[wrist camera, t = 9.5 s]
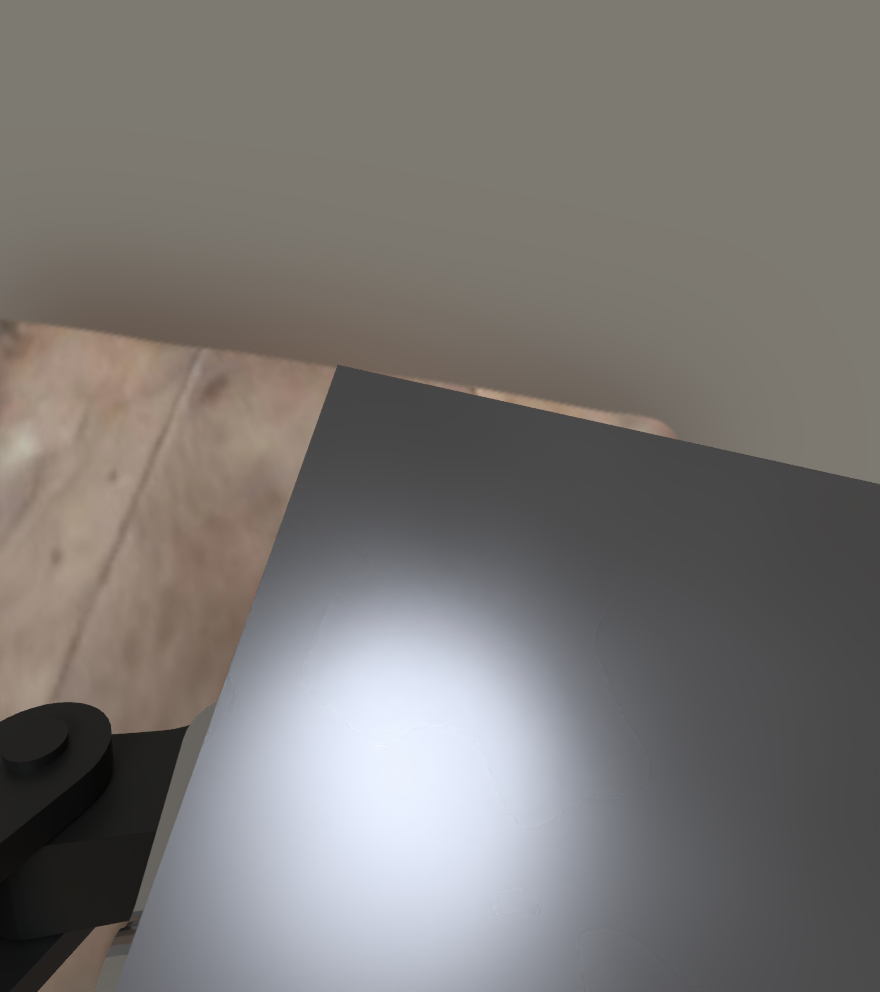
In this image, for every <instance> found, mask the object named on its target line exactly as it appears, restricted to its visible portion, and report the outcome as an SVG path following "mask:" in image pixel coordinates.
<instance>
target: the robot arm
mask: <svg viewBox="0 0 880 992" xmlns="http://www.w3.org/2000/svg"><path fill="white" fill-rule="evenodd" d="M217 703H218V702H217ZM217 703H214V704H213V705H211V706H209V707H208V708H206V709H205V710H204V711H203V712H201V713H200V714H199V715H198V716H197V717H196V718H195V719H194V720H193V722H192V723H191V724H190V725H188V726H186V727H181V728H177V729H172V730H164V731H152V732H139V733H126V734H112V733H111V724H110V722H109V719H108V718H107V717H106V715H105V714H104V713H103V712H102V711H100V710H99V709H97V708H95V707H93V706H90V705H87V704H82V703H73V702H63V703H53V704H46V705H42V706H38V707H34V708H31V709H28V710H25V711H22V712H20V713H17V714H15V715H13V716H11V717H8V718H6V719H5V720H3V721H1V722H0V992H37V991H38V990H39V989H40V988H41V987H42V986H43V985H44V984H45V983H46V981H47V980H48V979H49V978H50V977H51V976H52V975H53V974H54V973H55V971H56V970H57V969H58V968H59V967H60V966H61V965H62V964H63V963H64V961H65V960H66V959H67V958H68V957H69V956H70V955H71V954H72V953H73V951H74V950H75V949H76V948H77V947H78V946H79V945H80V944H81V943H82V941H83V940H84V939H85V938H86V937H87V936H88V935H89V934H90V933H91V931H92V930H93V929H94V928H95V927H98V926H103V925H109V924H114V923H119V922H124V921H129V922H128V924H127V926H126V927H125V928H121V929H120V930H119V931H118V932H117V934H116V936H115V937H114V939H113V941H112V944H111V946H110V948H109V950H108V953H107V955H106V958H105V961H104V963H103V966H102V969H101V972H100V975H99V978H98V981H97V984H96V987H95V990H94V992H115V989H116V987H117V984H118V981H119V978H120V975H121V973H122V970H123V967H124V964H125V961H126V958H127V956H128V953H129V950H130V947H131V944H132V942H133V939H134V936H135V933H136V930H137V928H138V925H139V922H140V919H141V916H142V913H143V911H144V908H145V905H146V902H147V899H148V897H149V894H150V891H151V888H152V885H153V883H154V880H155V877H156V874H157V871H158V869H159V866H160V863H161V860H162V857H163V854H164V852H165V849H166V846H167V843H168V840H169V838H170V835H171V832H172V829H173V826H174V824H175V821H176V818H177V815H178V812H179V809H180V807H181V804H182V801H183V798H184V795H185V793H186V790H187V787H188V784H189V781H190V779H191V776H192V773H193V770H194V767H195V765H196V762H197V759H198V756H199V753H200V750H201V748H202V745H203V742H204V739H205V736H206V734H207V731H208V728H209V725H210V722H211V720H212V717H213V714H214V711H215V708H216V706H217Z"/></svg>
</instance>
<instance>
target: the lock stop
mask: <svg viewBox="0 0 880 992" xmlns="http://www.w3.org/2000/svg"><path fill="white" fill-rule="evenodd" d="M115 992H880V484H876V483H872V482H867V481H863V480H858V479H853V478H849V477H844V476H840V475H835V474H830V473H826V472H822V471H817V470H812V469H808V468H804V467H799V466H794V465H790V464H785V463H781V462H776V461H772V460H767V459H763V458H758V457H753V456H749V455H744V454H740V453H735V452H730V451H726V450H722V449H717V448H713V447H708V446H704V445H699V444H694V443H690V442H685V441H681V440H676V439H672V438H667V437H663V436H658V435H654V434H649V433H645V432H640V431H636V430H631V429H626V428H622V427H617V426H613V425H608V424H604V423H599V422H595V421H590V420H586V419H581V418H577V417H572V416H567V415H563V414H558V413H554V412H549V411H545V410H540V409H536V408H531V407H527V406H522V405H517V404H513V403H508V402H504V401H499V400H495V399H490V398H486V397H481V396H477V395H472V394H468V393H463V392H458V391H454V390H449V389H445V388H440V387H436V386H431V385H427V384H422V383H418V382H413V381H409V380H404V379H399V378H395V377H390V376H386V375H381V374H377V373H372V372H368V371H363V370H359V369H354V368H350V367H345V366H340V365H337V368H336V371H335V374H334V377H333V379H332V382H331V385H330V388H329V391H328V394H327V396H326V399H325V402H324V405H323V408H322V410H321V413H320V416H319V419H318V422H317V424H316V427H315V430H314V433H313V436H312V438H311V441H310V444H309V447H308V450H307V453H306V455H305V458H304V461H303V464H302V467H301V469H300V472H299V475H298V478H297V481H296V483H295V486H294V489H293V492H292V495H291V498H290V500H289V503H288V506H287V509H286V512H285V514H284V517H283V520H282V523H281V526H280V528H279V531H278V534H277V537H276V540H275V542H274V545H273V548H272V551H271V554H270V557H269V559H268V562H267V565H266V568H265V571H264V573H263V576H262V579H261V582H260V585H259V587H258V590H257V593H256V596H255V599H254V602H253V604H252V607H251V610H250V613H249V616H248V618H247V621H246V624H245V627H244V630H243V632H242V635H241V638H240V641H239V644H238V646H237V649H236V652H235V655H234V658H233V661H232V663H231V666H230V669H229V672H228V675H227V677H226V680H225V683H224V686H223V689H222V691H221V694H220V697H219V700H218V703H217V706H216V708H215V711H214V714H213V717H212V720H211V722H210V725H209V728H208V731H207V734H206V736H205V739H204V742H203V745H202V748H201V750H200V753H199V756H198V759H197V762H196V765H195V767H194V770H193V773H192V776H191V779H190V781H189V784H188V787H187V790H186V793H185V795H184V798H183V801H182V804H181V807H180V809H179V812H178V815H177V818H176V821H175V824H174V826H173V829H172V832H171V835H170V838H169V840H168V843H167V846H166V849H165V852H164V854H163V857H162V860H161V863H160V866H159V869H158V871H157V874H156V877H155V880H154V883H153V885H152V888H151V891H150V894H149V897H148V899H147V902H146V905H145V908H144V911H143V913H142V916H141V919H140V922H139V925H138V928H137V930H136V933H135V936H134V939H133V942H132V944H131V947H130V950H129V953H128V956H127V958H126V961H125V964H124V967H123V970H122V973H121V975H120V978H119V981H118V984H117V987H116V989H115Z"/></svg>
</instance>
